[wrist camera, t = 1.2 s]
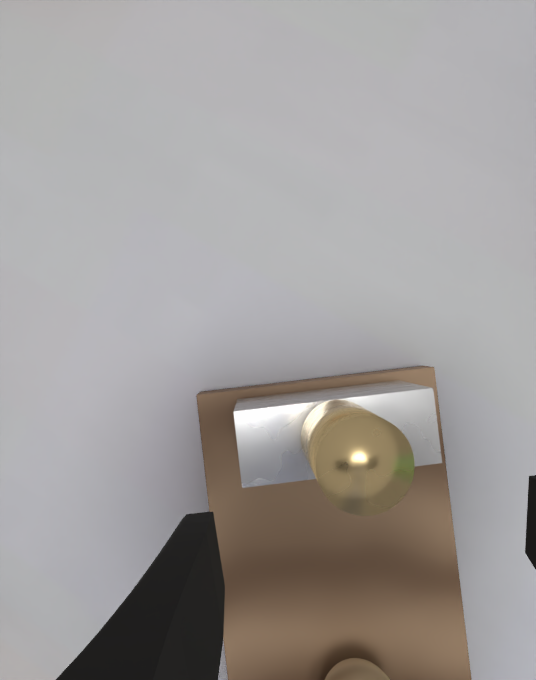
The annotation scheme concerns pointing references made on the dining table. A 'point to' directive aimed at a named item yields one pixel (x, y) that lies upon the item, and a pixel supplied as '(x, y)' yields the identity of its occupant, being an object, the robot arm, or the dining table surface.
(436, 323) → the dining table surface
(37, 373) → the dining table surface
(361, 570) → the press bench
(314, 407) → the jaw
